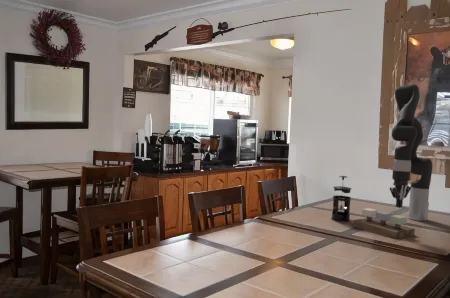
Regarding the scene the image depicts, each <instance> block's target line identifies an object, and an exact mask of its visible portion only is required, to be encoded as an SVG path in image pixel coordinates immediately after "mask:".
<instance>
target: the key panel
mask: <svg viewBox="0 0 450 298" xmlns="http://www.w3.org/2000/svg"><path fill="white" fill-rule="evenodd" d="M380 221H381V220H380V219H376V217H372V221H367V217H366V218H357V219H352V227H355V228H358V229H362V230H366V231H369V232H371V233H376V234H378V235H381V234H382V236H385V237H389V238H391V237H392V238H391V239H401V238H406V237H413V236H415V231H416V228H413V227H409V226H406V225H403V224H402V225H401V229H395V223H391V222H390V221H388V220H386V225H380Z"/></svg>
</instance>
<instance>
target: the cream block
mask: <svg viewBox="0 0 450 298" xmlns="http://www.w3.org/2000/svg"><path fill="white" fill-rule="evenodd" d="M376 212H378V209H374V208H370V207H366V208H362V210H361V215H362V216H364V217H366V218H367V221H372V218H376Z"/></svg>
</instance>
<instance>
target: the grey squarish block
mask: <svg viewBox="0 0 450 298" xmlns="http://www.w3.org/2000/svg"><path fill="white" fill-rule="evenodd" d="M390 216H393V215H392V213H391V212H387V211H377V212H376V216H375V218H376V219H380V220H381V221H380V225H386V221H390Z"/></svg>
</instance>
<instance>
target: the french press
mask: <svg viewBox="0 0 450 298" xmlns="http://www.w3.org/2000/svg"><path fill="white" fill-rule="evenodd" d="M339 178H341V179H342V183H341V185H342V186H341V185H340V186H337V185H336V186H333V188H334V190H333V191H334V192H336V191H338V192H339V191H340V192H341V195H332V199H333V203H332V204H333V205H332V206H333V207H332V212H331V217H330V218H331V221H333V222H334V221H335V222H339V223H347V222H350V221H351V219H350V216H351V214H350V210H351V200H352V198H351V196H348V195H347V196H346V195H343V194H350V193H351V190H352V187H347V186H344V180H345V179H346V178H347V176H346V175H339ZM339 201H340V202H341V203H340V205H339ZM343 202H344V204H343ZM343 205H344V206H343Z"/></svg>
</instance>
